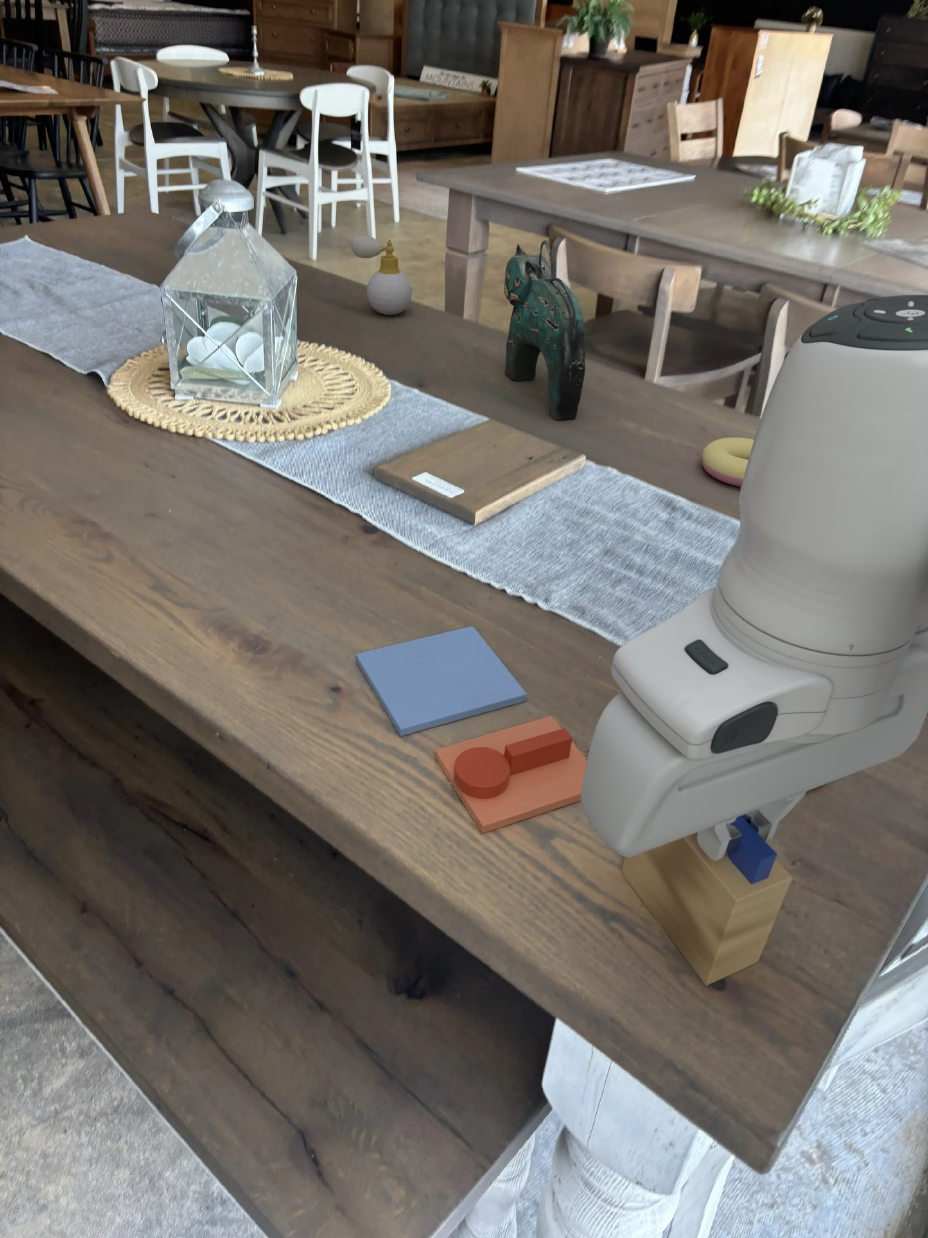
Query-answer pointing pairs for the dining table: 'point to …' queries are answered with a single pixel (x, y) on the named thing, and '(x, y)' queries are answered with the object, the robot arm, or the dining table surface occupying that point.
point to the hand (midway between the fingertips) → (733, 842)
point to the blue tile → (439, 679)
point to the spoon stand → (707, 905)
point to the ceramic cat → (545, 331)
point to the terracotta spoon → (507, 763)
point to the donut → (727, 459)
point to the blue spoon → (752, 853)
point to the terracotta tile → (519, 778)
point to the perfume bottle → (384, 277)
